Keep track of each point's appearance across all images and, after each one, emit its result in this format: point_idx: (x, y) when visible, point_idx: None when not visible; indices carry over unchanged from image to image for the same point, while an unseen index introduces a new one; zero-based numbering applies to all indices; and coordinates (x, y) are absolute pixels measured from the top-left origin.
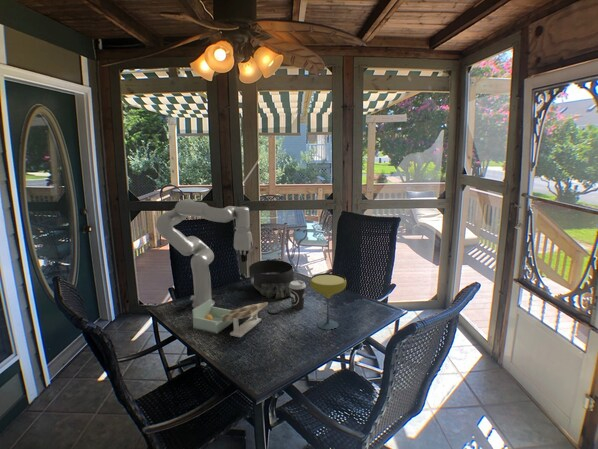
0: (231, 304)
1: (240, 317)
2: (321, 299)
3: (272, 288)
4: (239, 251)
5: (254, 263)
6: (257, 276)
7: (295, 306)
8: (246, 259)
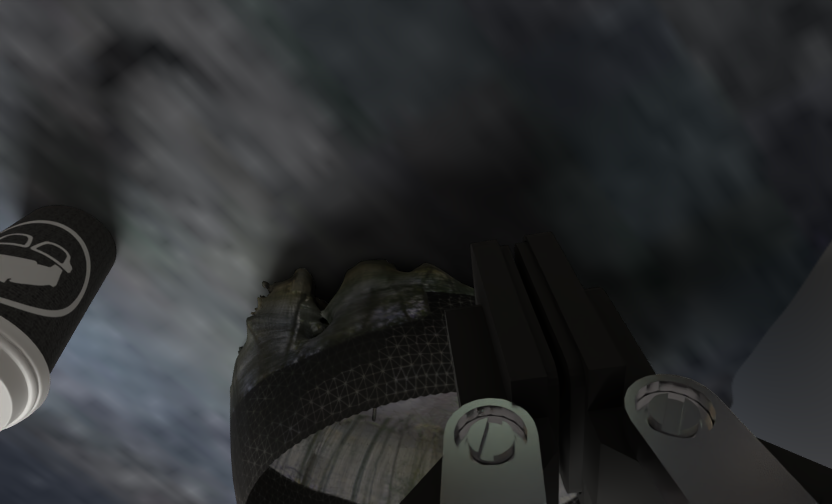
0: (569, 9)
1: None
2: (70, 412)
3: (331, 322)
4: (817, 495)
5: None
6: None
7: (25, 218)
8: (449, 342)
